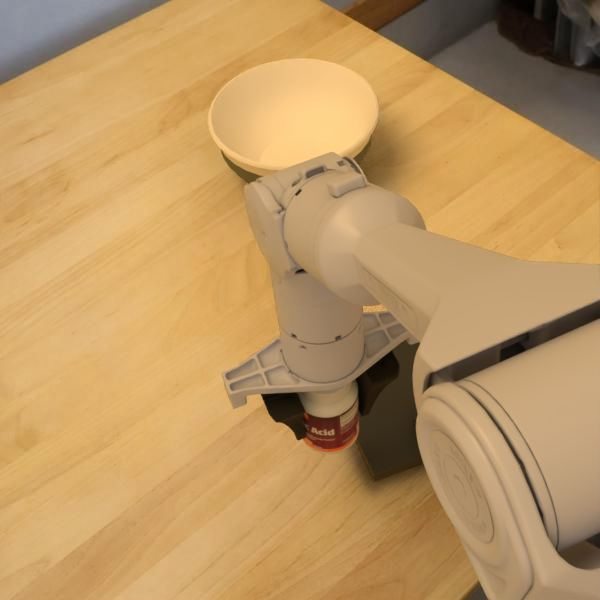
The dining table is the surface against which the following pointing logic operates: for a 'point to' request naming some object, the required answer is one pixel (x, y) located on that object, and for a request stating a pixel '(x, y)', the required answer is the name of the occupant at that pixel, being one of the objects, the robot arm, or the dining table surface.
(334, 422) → the pill bottle
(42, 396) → the dining table surface
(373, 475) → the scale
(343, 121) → the bowl
